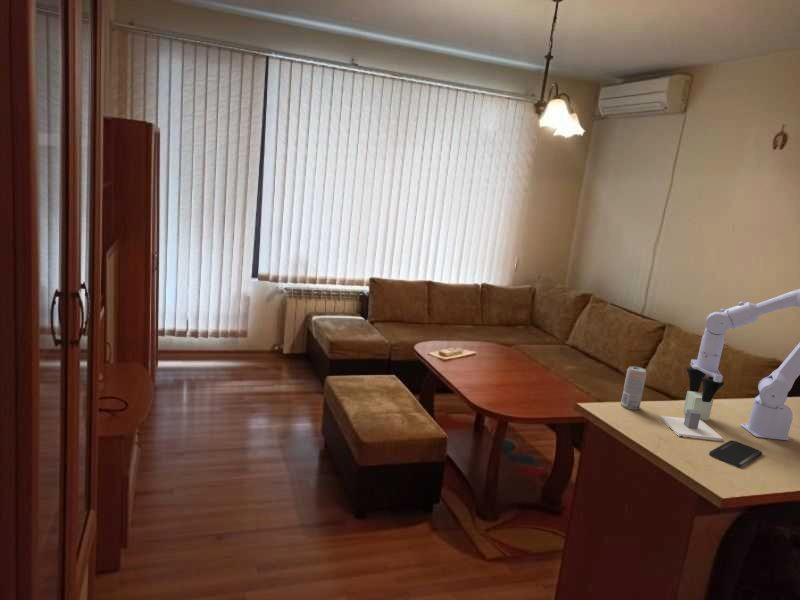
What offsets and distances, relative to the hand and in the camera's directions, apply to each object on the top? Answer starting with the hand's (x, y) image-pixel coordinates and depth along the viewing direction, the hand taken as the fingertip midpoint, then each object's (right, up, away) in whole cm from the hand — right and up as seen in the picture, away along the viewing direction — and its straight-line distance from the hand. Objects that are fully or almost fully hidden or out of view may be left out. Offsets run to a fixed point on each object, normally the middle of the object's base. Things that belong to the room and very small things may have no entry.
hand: (699, 396), depth 171 cm
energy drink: (-19, -4, +3) cm, 20 cm away
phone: (-3, -12, -23) cm, 26 cm away
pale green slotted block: (-1, -6, +1) cm, 6 cm away
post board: (-8, -8, -10) cm, 14 cm away
